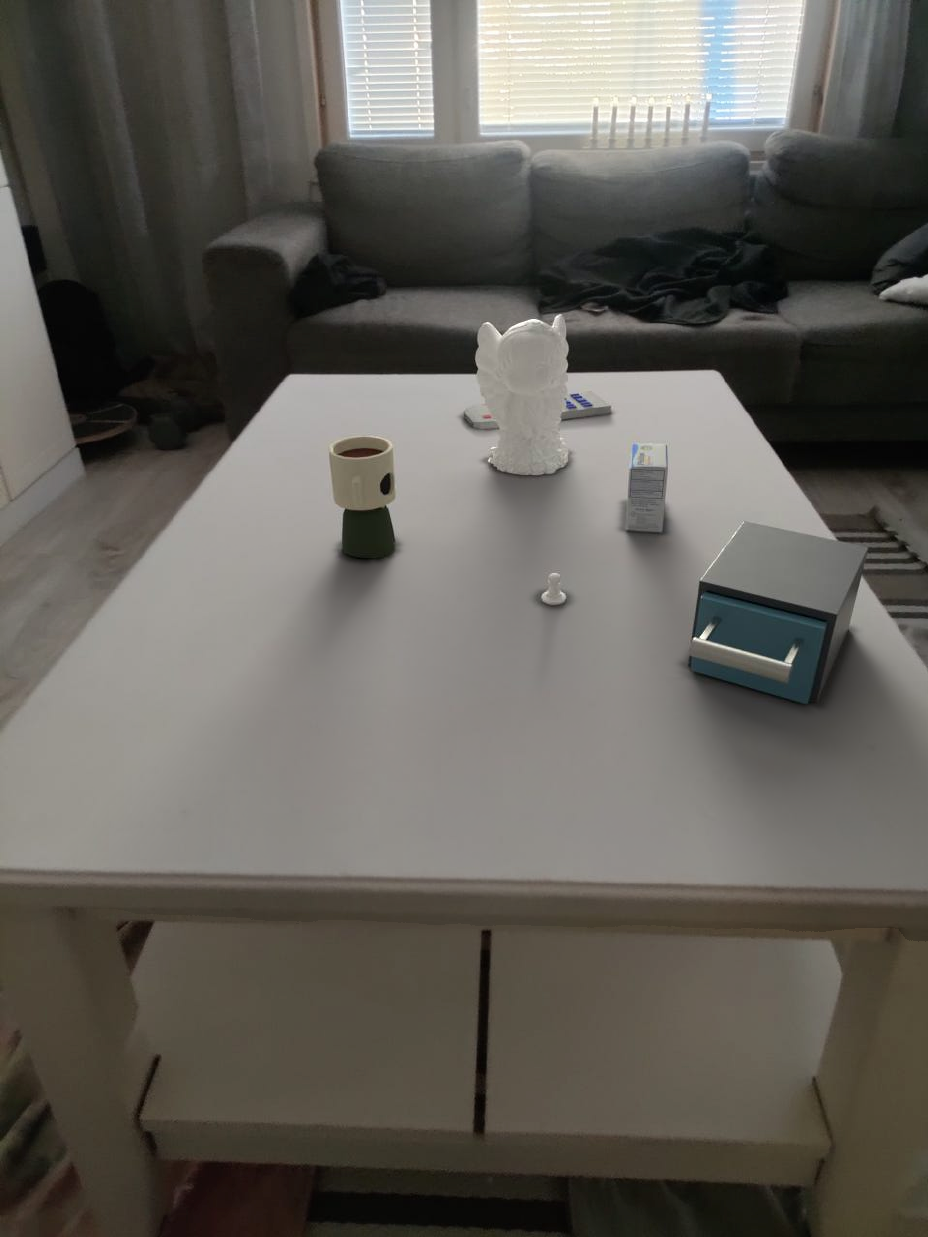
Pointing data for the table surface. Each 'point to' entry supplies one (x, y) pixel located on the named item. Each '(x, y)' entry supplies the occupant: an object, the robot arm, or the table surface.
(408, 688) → the table surface
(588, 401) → the remote control
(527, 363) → the cherub figurine
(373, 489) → the character mug
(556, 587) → the chess pawn
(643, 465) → the medicine box
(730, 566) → the small drawer unit
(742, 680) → the open teal drawer
